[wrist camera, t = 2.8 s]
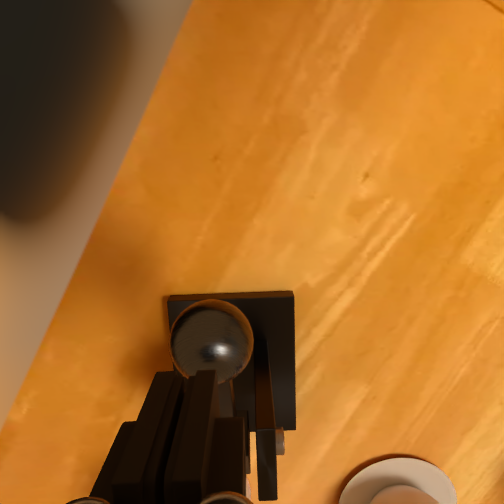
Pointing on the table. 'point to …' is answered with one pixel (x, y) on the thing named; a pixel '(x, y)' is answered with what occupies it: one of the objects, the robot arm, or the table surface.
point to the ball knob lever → (214, 350)
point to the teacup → (399, 484)
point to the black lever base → (261, 373)
